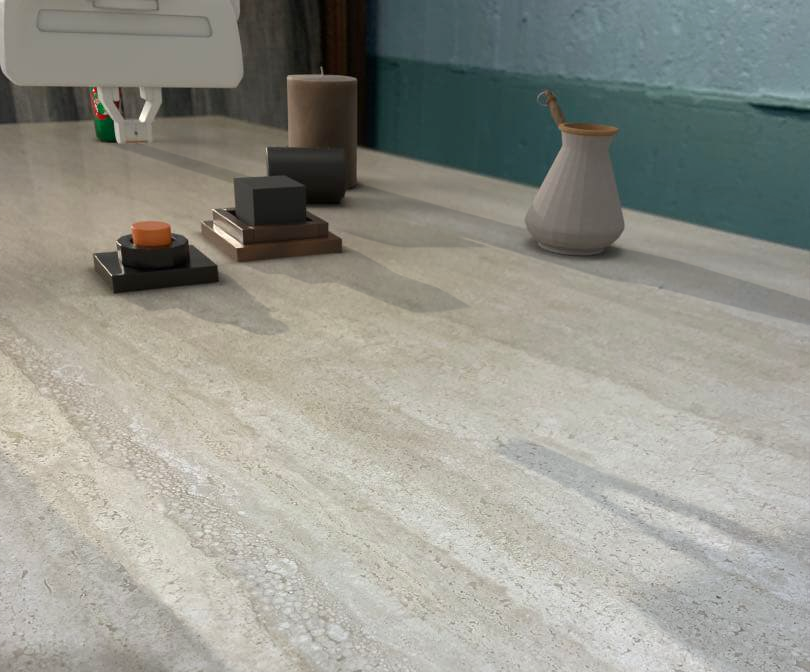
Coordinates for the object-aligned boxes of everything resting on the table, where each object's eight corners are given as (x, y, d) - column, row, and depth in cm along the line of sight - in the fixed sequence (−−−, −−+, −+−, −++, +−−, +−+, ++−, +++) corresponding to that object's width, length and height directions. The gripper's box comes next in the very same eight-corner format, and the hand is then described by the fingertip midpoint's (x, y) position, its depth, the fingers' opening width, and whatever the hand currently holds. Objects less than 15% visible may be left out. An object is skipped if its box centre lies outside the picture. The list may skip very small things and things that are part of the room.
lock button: (138, 250, 81) (136, 231, 80) (129, 241, 84) (126, 222, 83) (176, 247, 82) (175, 228, 82) (166, 238, 85) (164, 219, 84)
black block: (255, 238, 93) (252, 189, 90) (236, 225, 97) (233, 178, 94) (306, 234, 95) (306, 185, 92) (286, 221, 99) (284, 175, 97)
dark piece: (114, 294, 80) (108, 255, 78) (95, 270, 85) (89, 234, 84) (219, 283, 84) (216, 246, 82) (194, 261, 90) (191, 226, 88)
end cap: (269, 207, 111) (266, 150, 107) (266, 195, 117) (264, 141, 113) (346, 208, 113) (346, 152, 109) (340, 196, 119) (340, 142, 115)
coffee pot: (636, 260, 98) (663, 113, 90) (538, 260, 96) (558, 110, 88) (572, 215, 115) (590, 89, 107) (489, 215, 113) (501, 86, 105)
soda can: (119, 137, 151) (110, 58, 144) (132, 141, 148) (123, 61, 141) (91, 138, 148) (80, 58, 141) (104, 143, 145) (93, 62, 138)
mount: (237, 262, 90) (235, 233, 88) (201, 234, 99) (199, 207, 97) (342, 252, 95) (342, 224, 93) (299, 226, 104) (298, 200, 102)
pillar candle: (349, 193, 121) (349, 71, 112) (281, 188, 122) (277, 67, 113) (362, 180, 129) (364, 65, 120) (298, 175, 130) (296, 61, 121)
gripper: (226, -34, 77) (233, 135, 85) (-23, -52, 69) (10, 138, 76) (250, -32, 73) (256, 146, 80) (-13, -51, 64) (21, 151, 72)
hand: (134, 142), depth 78 cm, fingers closed
